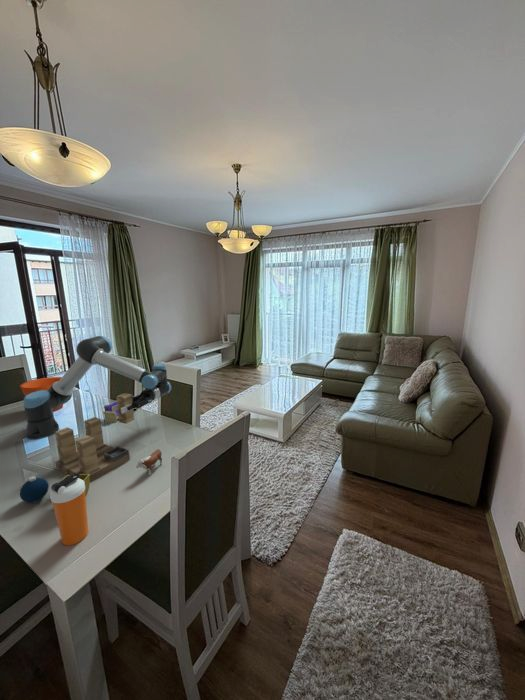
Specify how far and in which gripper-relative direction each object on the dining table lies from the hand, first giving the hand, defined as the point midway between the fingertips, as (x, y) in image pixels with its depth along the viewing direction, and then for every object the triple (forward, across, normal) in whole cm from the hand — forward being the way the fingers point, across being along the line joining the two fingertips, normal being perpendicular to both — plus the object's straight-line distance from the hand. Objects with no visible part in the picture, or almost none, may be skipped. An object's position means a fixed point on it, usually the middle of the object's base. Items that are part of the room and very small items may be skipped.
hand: (117, 410), depth 138 cm
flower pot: (+36, -15, -20) cm, 44 cm away
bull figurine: (+11, -28, -20) cm, 37 cm away
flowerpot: (-24, +89, -21) cm, 95 cm away
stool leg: (-5, 0, -8) cm, 10 cm away
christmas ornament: (+39, +1, -21) cm, 44 cm away
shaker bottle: (+47, -29, -20) cm, 59 cm away
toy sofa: (-32, +32, -21) cm, 49 cm away
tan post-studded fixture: (+15, +1, -20) cm, 25 cm away
